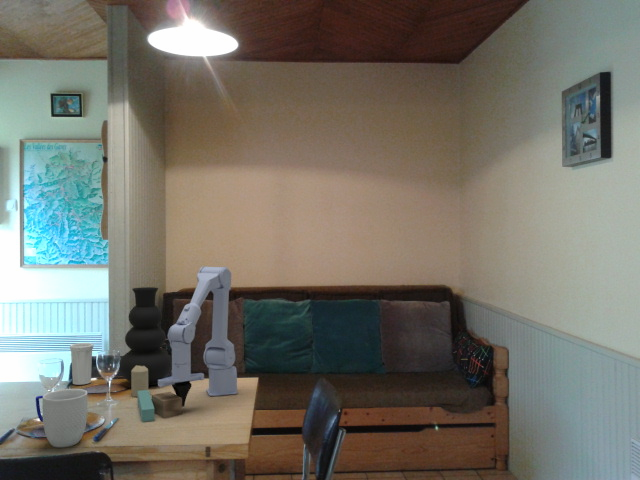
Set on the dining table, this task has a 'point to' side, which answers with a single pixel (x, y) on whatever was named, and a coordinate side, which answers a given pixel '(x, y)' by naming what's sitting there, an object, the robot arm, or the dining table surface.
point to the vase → (145, 338)
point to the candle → (139, 380)
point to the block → (167, 404)
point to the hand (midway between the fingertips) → (181, 406)
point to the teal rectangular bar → (145, 406)
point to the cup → (81, 362)
